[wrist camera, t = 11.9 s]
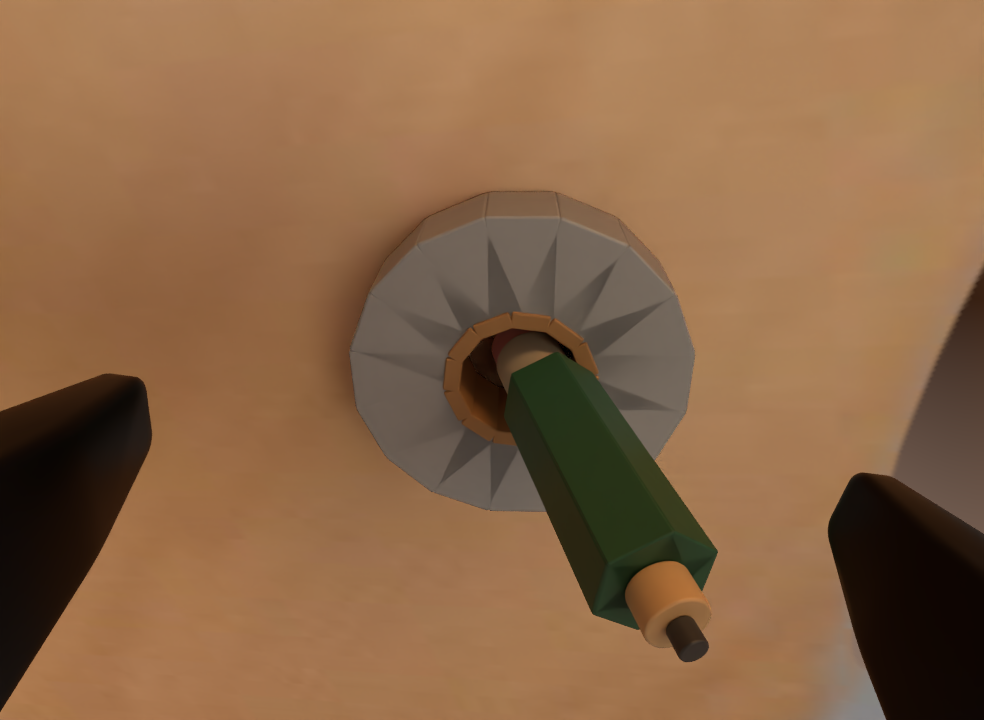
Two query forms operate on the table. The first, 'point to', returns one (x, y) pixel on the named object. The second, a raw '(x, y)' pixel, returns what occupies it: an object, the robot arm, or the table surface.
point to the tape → (502, 306)
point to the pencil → (606, 497)
